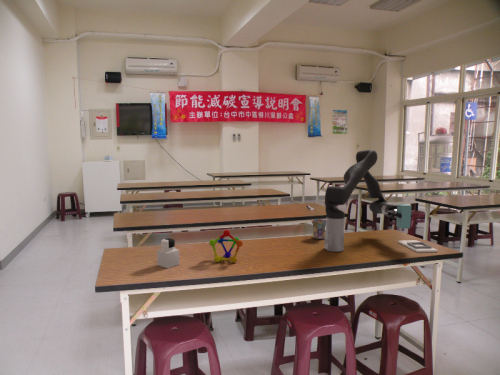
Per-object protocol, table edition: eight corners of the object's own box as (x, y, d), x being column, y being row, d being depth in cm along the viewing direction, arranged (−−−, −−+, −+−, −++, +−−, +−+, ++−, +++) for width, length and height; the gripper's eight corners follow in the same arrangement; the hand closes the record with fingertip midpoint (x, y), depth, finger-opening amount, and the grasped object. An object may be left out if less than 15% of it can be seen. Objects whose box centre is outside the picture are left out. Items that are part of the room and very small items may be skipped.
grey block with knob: (169, 261, 164) (169, 236, 162) (179, 264, 159) (179, 239, 158) (157, 265, 158) (156, 239, 157) (167, 268, 154) (166, 242, 152)
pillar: (400, 228, 182) (402, 205, 181) (396, 226, 187) (397, 204, 186) (410, 228, 182) (411, 205, 181) (405, 226, 187) (406, 204, 186)
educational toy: (238, 257, 174) (241, 227, 172) (241, 265, 161) (244, 234, 159) (207, 255, 172) (210, 225, 170) (207, 263, 159) (210, 231, 157)
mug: (329, 239, 205) (330, 221, 204) (315, 240, 202) (316, 222, 201) (319, 234, 216) (319, 217, 215) (306, 235, 213) (306, 218, 212)
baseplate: (417, 252, 178) (417, 248, 178) (397, 242, 198) (398, 238, 198) (437, 252, 179) (438, 248, 178) (416, 241, 199) (416, 238, 198)
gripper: (379, 204, 197) (393, 209, 180) (403, 203, 198) (420, 208, 181) (378, 217, 198) (392, 223, 181) (402, 216, 199) (419, 223, 182)
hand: (406, 216), depth 181 cm, fingers closed on pillar, 5 cm apart
